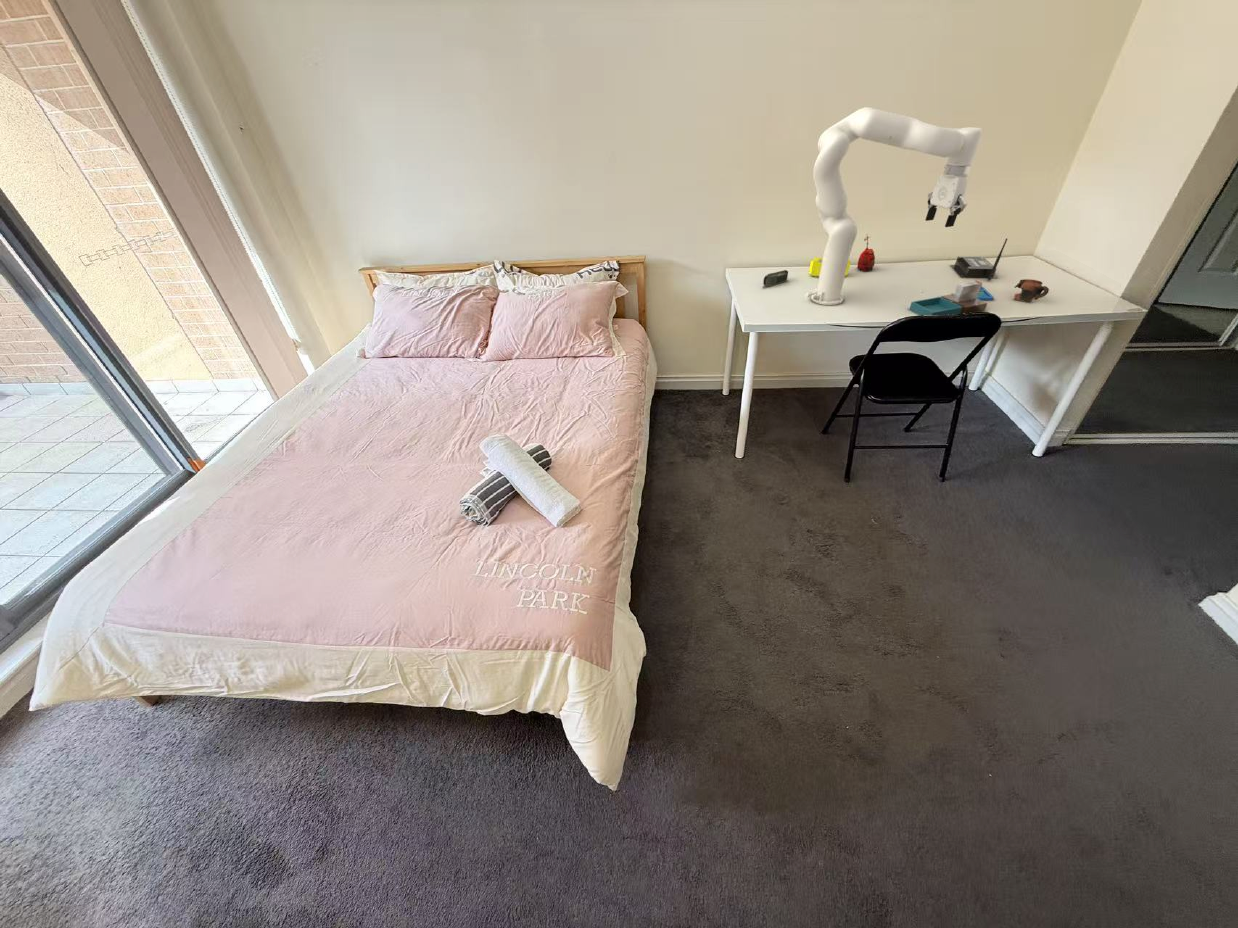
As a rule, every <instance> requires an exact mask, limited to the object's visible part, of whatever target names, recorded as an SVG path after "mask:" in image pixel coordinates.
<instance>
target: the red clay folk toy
mask: <svg viewBox="0 0 1238 928" xmlns="http://www.w3.org/2000/svg"><path fill="white" fill-rule="evenodd" d="M869 238H871V236H869V235H868V234H866V237H864V239H863V241H864V242H866V248H865V249H864V250H863V251H862V252H861V254H860V255H859V257H858V260H857V267H856V268H857V269H858V271H861V272H863V273H865V272H870V271H872V270H873V269H874V267H875V264H876V263H875V262H876V255H875V250H873V248H869Z"/></svg>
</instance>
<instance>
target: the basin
mask: <svg viewBox="0 0 1238 928" xmlns="http://www.w3.org/2000/svg"><path fill="white" fill-rule="evenodd" d="M909 305H910V306H909V308H908V310H910V311H912V312H914V313H916V314H917V315H919V316H921V315H948V314H949V315H952V314H960V313H961V310H962V308H963V307H961V306H959V305H957V304H955V303H953V302H950V301H949V300H947V299H944V298H942V297H941V296H937V297H931V298H925V299H920V300H914V301H911V302H910V304H909ZM960 315H961V314H960Z"/></svg>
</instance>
